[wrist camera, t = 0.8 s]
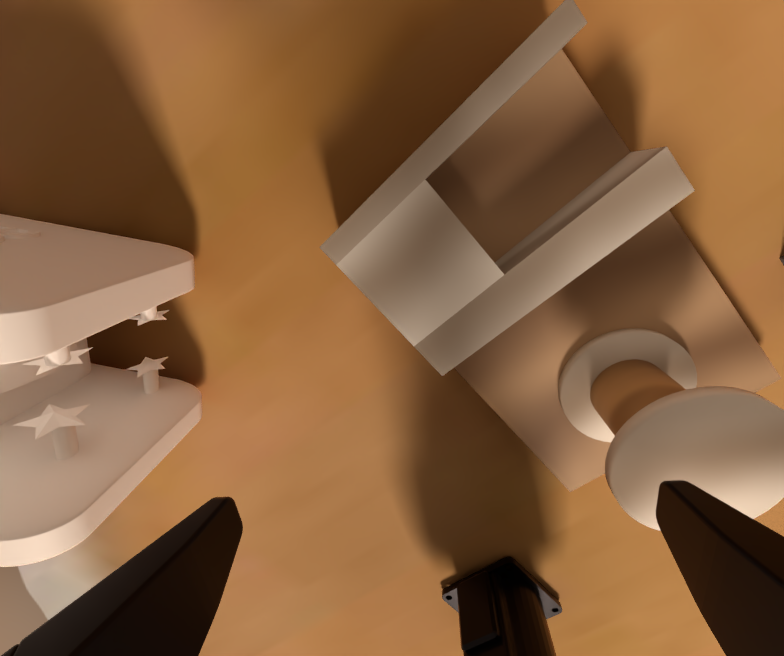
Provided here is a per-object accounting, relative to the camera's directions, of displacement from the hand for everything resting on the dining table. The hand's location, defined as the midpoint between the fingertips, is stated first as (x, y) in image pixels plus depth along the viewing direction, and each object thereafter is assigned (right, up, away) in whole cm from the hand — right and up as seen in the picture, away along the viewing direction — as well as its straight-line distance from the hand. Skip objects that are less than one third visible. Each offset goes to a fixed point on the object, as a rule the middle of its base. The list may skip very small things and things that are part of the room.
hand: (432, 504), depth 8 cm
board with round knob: (+8, +5, +12) cm, 15 cm away
